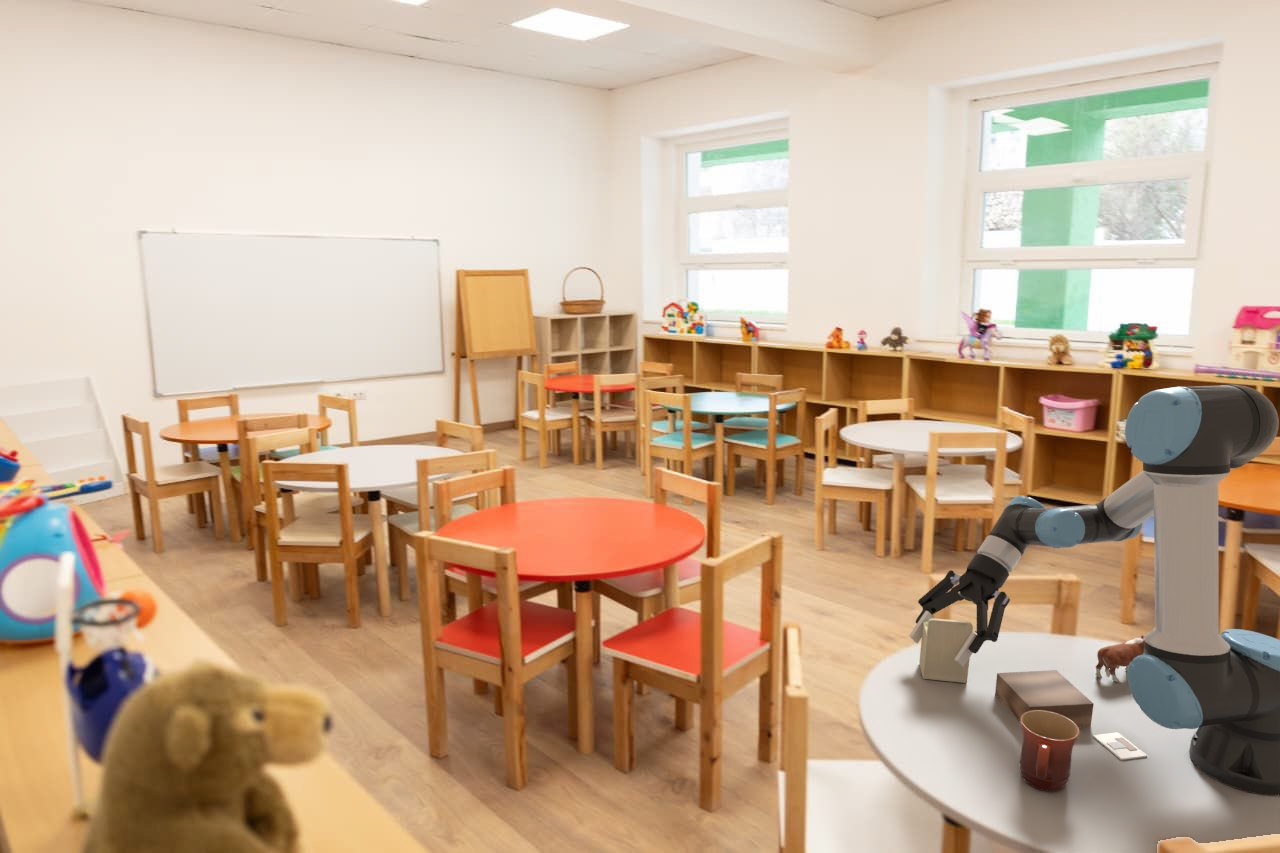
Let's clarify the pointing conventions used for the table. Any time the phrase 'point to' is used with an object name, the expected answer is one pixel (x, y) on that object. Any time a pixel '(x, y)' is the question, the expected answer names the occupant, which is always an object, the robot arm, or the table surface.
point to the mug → (1047, 749)
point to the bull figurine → (1119, 656)
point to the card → (1119, 746)
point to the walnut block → (1043, 695)
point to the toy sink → (944, 649)
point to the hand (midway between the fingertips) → (935, 651)
